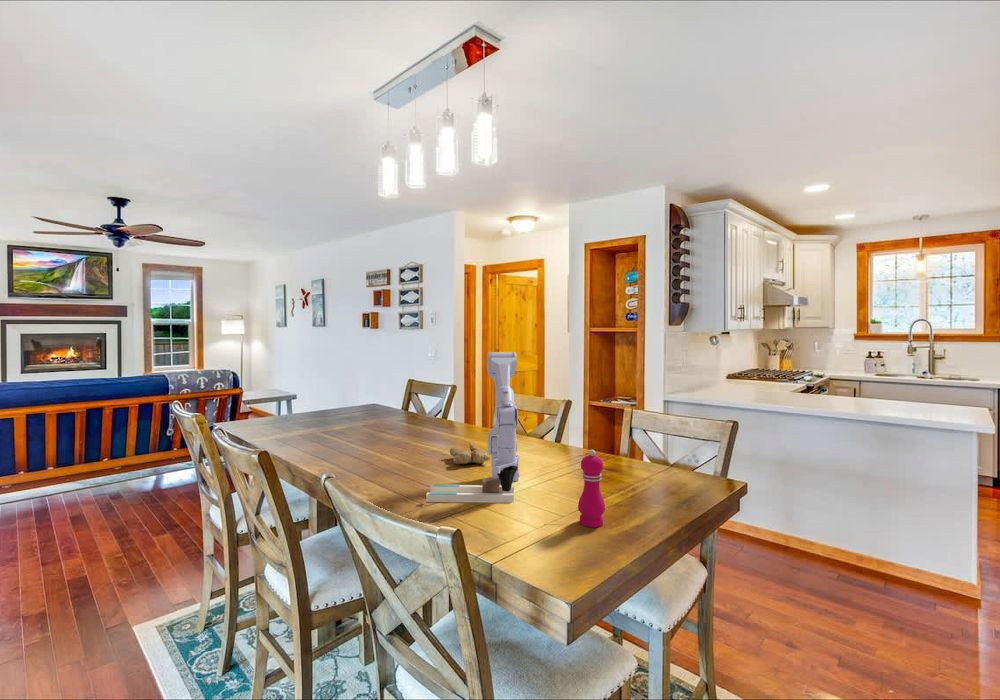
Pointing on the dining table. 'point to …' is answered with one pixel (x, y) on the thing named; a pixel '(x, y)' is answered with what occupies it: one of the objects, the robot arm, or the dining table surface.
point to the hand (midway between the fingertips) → (506, 490)
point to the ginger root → (469, 455)
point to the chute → (467, 494)
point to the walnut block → (491, 485)
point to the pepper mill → (591, 492)
